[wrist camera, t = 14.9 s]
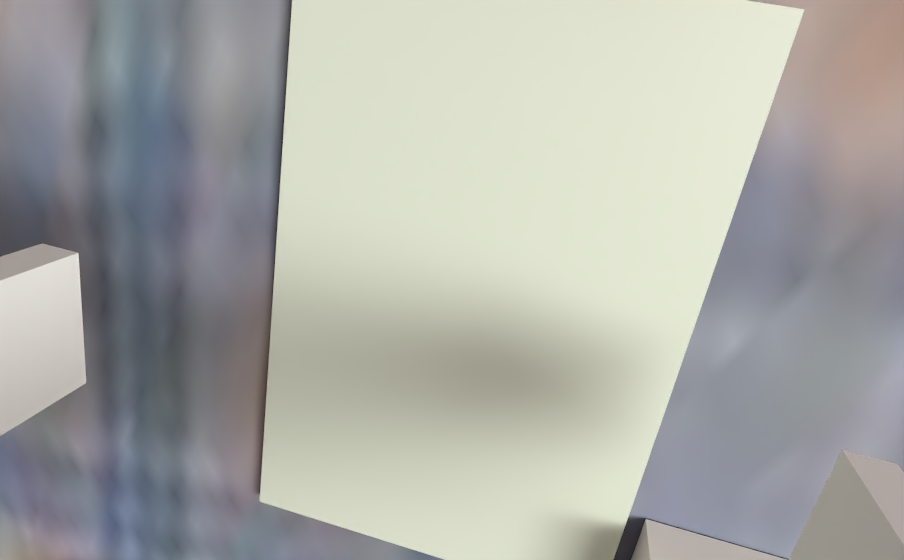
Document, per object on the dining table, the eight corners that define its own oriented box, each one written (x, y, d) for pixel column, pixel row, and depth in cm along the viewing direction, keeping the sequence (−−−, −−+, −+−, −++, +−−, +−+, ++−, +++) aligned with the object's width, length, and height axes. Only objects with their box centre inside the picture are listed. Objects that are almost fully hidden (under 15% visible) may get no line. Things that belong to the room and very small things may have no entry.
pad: (264, 494, 18) (259, 501, 18) (303, -67, 13) (296, -71, 13) (596, 598, 17) (597, 607, 16) (799, 11, 11) (804, 9, 11)
